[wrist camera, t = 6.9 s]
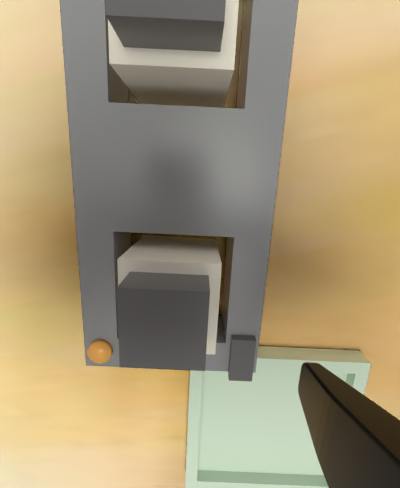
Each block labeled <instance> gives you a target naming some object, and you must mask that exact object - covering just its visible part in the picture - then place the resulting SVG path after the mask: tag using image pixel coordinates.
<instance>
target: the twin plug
mask: <svg viewBox="0 0 400 488" xmlns="http://www.w3.org/2000/svg"><path fill="white" fill-rule="evenodd" d="M238 7H239V0H105V9H106V17H107V18H108V37H109V64H110V65H111V66H112V68H113V69H114V70H115V72H116V73H117V74H118V75H119V77H120V78H121V79H122V81H123V82H124V83H125V85H126V86H127V87H128V89H129V90H130V91H131V92H132V94H133V95H134V96H135V98H136V99H137V100H138V102H139V103H140V104H155V105H176V106H197V107H217V108H223V107H224V104H225V100H226V97H227V93H228V90H229V86H230V83H231V79H232V76H233V72H234V64H235V50H236V35H237V21H238Z"/></svg>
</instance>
